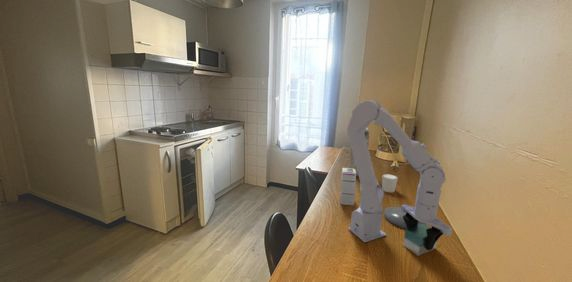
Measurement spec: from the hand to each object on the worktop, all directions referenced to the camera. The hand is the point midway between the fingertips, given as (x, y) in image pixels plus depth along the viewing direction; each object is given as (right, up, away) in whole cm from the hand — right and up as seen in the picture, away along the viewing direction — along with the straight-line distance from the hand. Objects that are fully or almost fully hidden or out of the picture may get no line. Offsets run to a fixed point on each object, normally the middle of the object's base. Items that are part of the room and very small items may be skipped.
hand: (419, 242), depth 70 cm
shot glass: (+9, +7, +41) cm, 42 cm away
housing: (0, -2, 0) cm, 2 cm away
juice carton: (0, +12, +61) cm, 63 cm away
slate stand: (+3, +2, +15) cm, 16 cm away
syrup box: (-15, +5, +28) cm, 32 cm away
